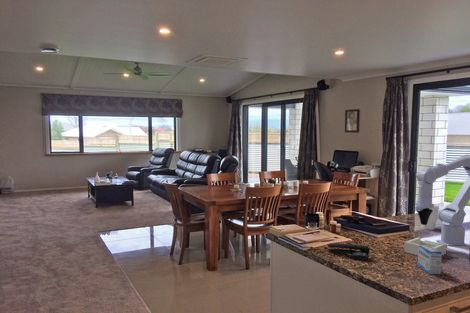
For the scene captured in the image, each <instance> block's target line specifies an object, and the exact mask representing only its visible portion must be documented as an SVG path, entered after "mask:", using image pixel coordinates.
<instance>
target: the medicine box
mask: <svg viewBox="0 0 470 313" xmlns="http://www.w3.org/2000/svg"><path fill="white" fill-rule="evenodd" d="M442 257H443V256H442V252H441V251H439V250H437V249H435V248H433V247H431V246H429V245H422V244H421V245H419V251H418V256H417V268H419V269H421V270H422V271H424V272H426V273H427V274H428V275H441V270H442Z"/></svg>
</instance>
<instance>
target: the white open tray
mask: <svg viewBox="0 0 470 313" xmlns="http://www.w3.org/2000/svg"><path fill="white" fill-rule="evenodd" d="M421 238H422V237H416V238H412V239H410V240H406V241H404V253H406V254H407V253H408V254H410V255H414V256H417V257H418V251H419V245H422V244H420V242H421ZM440 244H441V245H438V246H436V247H433V248H435V249H437V250H439V251H441V252H442V255H443V256H444V254H445V255H447V254H446V253H447V248H446V244H443V243H440Z"/></svg>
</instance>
